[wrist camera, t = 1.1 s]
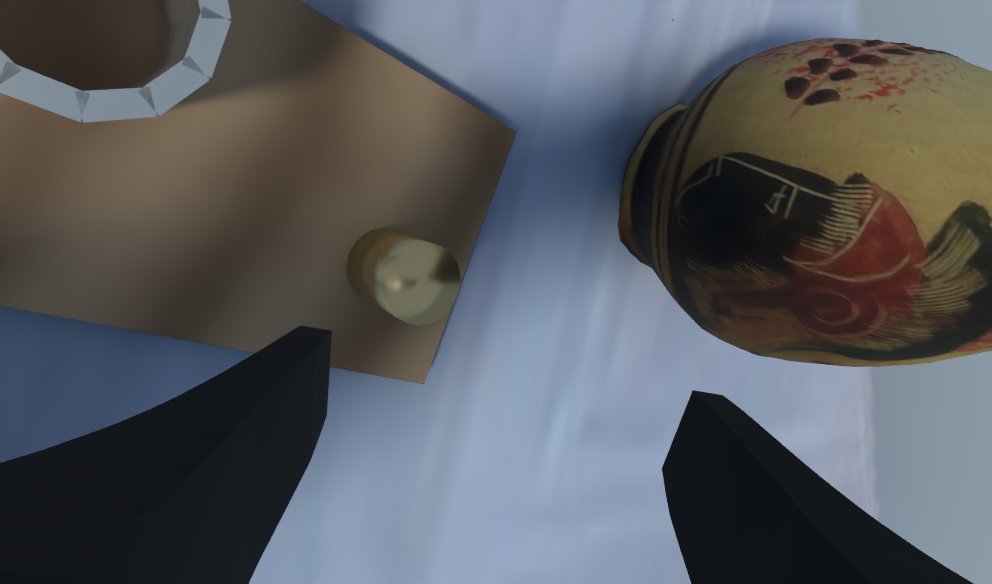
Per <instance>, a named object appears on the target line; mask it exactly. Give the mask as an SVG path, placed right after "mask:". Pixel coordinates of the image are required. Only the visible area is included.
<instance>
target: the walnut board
mask: <svg viewBox="0 0 992 584" xmlns="http://www.w3.org/2000/svg"><path fill="white" fill-rule="evenodd" d="M228 4H229V9H230V14H231V19H230V21H231V23H230V26H229V29H228V32H227V35H226V38H225V40H224V43H223V46H222V49H221V52H220V55H219V58H218V60H217V63H216V66H215V69H214V72H213V75H212V78H210V79H209V81H208V82H206V83H205V84H204V85H202V86H201V87H199V88H198V89H197V90H195V91H194V92H192V93H191V94H190V95H188V96H187V97H185V98H184V99H183V100H181V101H180V102H179V103H177V104H176V105H174V106H173V107H172V108H170V109H169V110H167V111H166V112H165V113H163V114H162V115H160V116H157V117H149V118H136V119H124V120H111V121H99V122H86V123H83V122H78V121H76V120H73V119H70V118H67V117H65V116H62V115H59V114H57V113H54V112H51V111H48V110H46V109H43V108H40V107H38V106H35V105H32V104H29V103H27V102H24V101H21V100H19V99H16V98H13V97H10V96H8V95H5V94H2V93H0V306H4V307H9V308H15V309H20V310H26V311H31V312H37V313H42V314H47V315H53V316H58V317H64V318H69V319H74V320H80V321H85V322H91V323H96V324H102V325H107V326H112V327H118V328H123V329H129V330H134V331H139V332H145V333H150V334H156V335H161V336H167V337H172V338H177V339H183V340H188V341H194V342H199V343H204V344H210V345H215V346H221V347H226V348H232V349H237V350H242V351H248V352H253V353H256V352H258V351H260V350H261V349H263V348H265V347H266V346H268V345H269V344H271V343H273V342H274V341H276V340H277V339H279V338H280V337H282V336H284V335H285V334H287V333H289V332H290V331H292V330H293V329H295V328H297V327H299V326H307V327H313V328H319V329H325V330H331V331H332V339H331V354H330V367H335V368H340V369H345V370H351V371H356V372H362V373H367V374H372V375H378V376H383V377H389V378H394V379H400V380H405V381H410V382H416V383H421V384H424V382H425V380H426V377H427V374H428V371H429V369H430V366H431V363H432V360H433V358H434V355H435V352H436V350H437V347H438V344H439V341H440V339H441V336H442V333H443V330H444V328H445V325H446V322H447V320H448V317H449V314H450V311H451V309H452V307H451V308H450V310H449V311H448V312H447V313H446V314H445V315H444V316H443V317H441V318H440V319H439V320H437V321H435V322H433V323H430V324H427V325H411V324H408V323H406V322H404V321H402V320H400V319H398V318H397V317H395V316H393V315H392V314H390V313H388V312H387V311H385V310H383V309H382V308H380V307H378V306H377V305H375V304H373V303H372V302H370V301H368V300H367V299H365V298H363V297H361V296H360V295H359V294H358V293H357V292H356V291H355V290H354V289H353V288H352V286H351V284H350V282H349V280H348V276H347V260H348V256H349V253H350V251H351V249H352V247H353V245H354V244H355V243H356V242H357V240H358V239H359V238H360V237H362V236H363V235H364V234H366V233H368V232H370V231H372V230H375V229H381V228H387V229H392V230H395V231H398V232H401V233H404V234H407V235H410V236H413V237H416V238H419V239H421V240H424V241H427V242H430V243H433V244H436V245H439V246H441V247H443V248H445V249H446V250H448V251H449V252H450V253H451V254H452V255H453V257H454V258H455V260H456V261H457V264H458V266H459V270H460V284H461V281H462V279H463V276H464V273H465V271H466V268H467V265H468V262H469V260H470V257H471V254H472V251H473V249H474V246H475V243H476V241H477V238H478V235H479V232H480V230H481V227H482V224H483V221H484V219H485V216H486V213H487V211H488V208H489V205H490V202H491V200H492V197H493V194H494V191H495V189H496V186H497V183H498V181H499V178H500V175H501V172H502V170H503V167H504V164H505V161H506V159H507V156H508V153H509V151H510V148H511V145H512V142H513V140H514V137H515V134H516V131H514V130H512V129H511V128H509V127H507V126H506V125H504V124H502V123H501V122H499V121H498V120H496V119H494V118H493V117H491V116H489V115H488V114H486V113H484V112H483V111H481V110H479V109H478V108H476V107H474V106H473V105H471V104H469V103H468V102H466V101H464V100H463V99H461V98H459V97H458V96H456V95H455V94H453V93H451V92H450V91H448V90H446V89H445V88H443V87H441V86H440V85H438V84H436V83H435V82H433V81H431V80H430V79H428V78H426V77H425V76H423V75H421V74H420V73H418V72H416V71H415V70H413V69H411V68H410V67H408V66H407V65H405V64H403V63H402V62H400V61H398V60H397V59H395V58H393V57H392V56H390V55H388V54H387V53H385V52H383V51H382V50H380V49H378V48H377V47H375V46H373V45H372V44H370V43H368V42H367V41H365V40H364V39H362V38H360V37H359V36H357V35H355V34H354V33H352V32H350V31H349V30H347V29H345V28H344V27H342V26H340V25H339V24H337V23H335V22H334V21H332V20H330V19H329V18H327V17H325V16H324V15H322V14H321V13H319V12H317V11H316V10H314V9H312V8H311V7H309V6H307V5H306V4H304V3H302V2H301V1H299V0H228ZM166 36H167V31H166V27H165V23H164V18H163V14H162V10H161V6H160V1H159V0H0V50H1V51H2V52H3V53H4V54H5V55H6V56H7V57H8V58H9V59H10V60H12V61H13V62H14V63H15V64H16V65H18V66H21V67H23V68H26V69H28V70H31V71H34V72H36V73H39V74H41V75H44V76H46V77H49V78H51V79H54V80H56V81H59V82H61V83H64V84H66V85H69V86H71V87H74V88H76V89H79V90H81V91H90V90H108V89H126V88H129V87H131V86H132V85H134V84H135V83H137V82H138V81H140V80H141V79H143V78H144V77H145V76H147V75H148V74H150V73H151V72H153V71H154V70H155V67H156V65H157V62H158V59H159V56H160V53H161V50H162V47H163V44H164V42H165V39H166Z"/></svg>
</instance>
